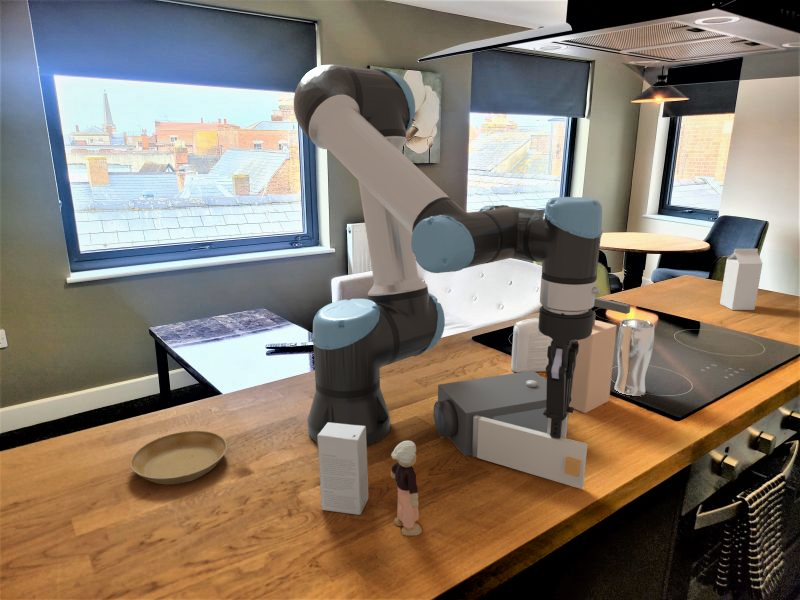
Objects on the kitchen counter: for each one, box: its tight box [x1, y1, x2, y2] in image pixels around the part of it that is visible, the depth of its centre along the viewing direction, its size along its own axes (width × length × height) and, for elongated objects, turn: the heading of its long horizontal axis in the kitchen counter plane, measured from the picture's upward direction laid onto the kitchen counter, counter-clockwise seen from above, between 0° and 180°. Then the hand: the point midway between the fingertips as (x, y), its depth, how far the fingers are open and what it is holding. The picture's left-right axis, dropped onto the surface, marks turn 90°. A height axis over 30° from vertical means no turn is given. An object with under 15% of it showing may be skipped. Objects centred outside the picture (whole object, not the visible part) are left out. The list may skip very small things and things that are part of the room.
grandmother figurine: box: [390, 440, 423, 537], centre depth 75 cm, size 8×4×13 cm, turn 35°
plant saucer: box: [129, 430, 228, 485], centre depth 91 cm, size 15×15×3 cm
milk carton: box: [719, 248, 763, 311], centre depth 175 cm, size 7×7×19 cm
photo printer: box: [510, 317, 553, 373], centre depth 127 cm, size 10×4×12 cm, turn 98°
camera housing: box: [433, 371, 569, 457], centre depth 100 cm, size 22×12×9 cm, turn 109°
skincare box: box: [317, 422, 369, 516], centre depth 79 cm, size 6×4×12 cm
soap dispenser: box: [569, 296, 631, 414], centre depth 109 cm, size 13×9×22 cm
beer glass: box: [614, 318, 656, 397], centre depth 116 cm, size 7×7×15 cm
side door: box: [471, 415, 588, 490], centre depth 87 cm, size 18×2×7 cm, turn 59°
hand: (555, 451), depth 86 cm, fingers closed
